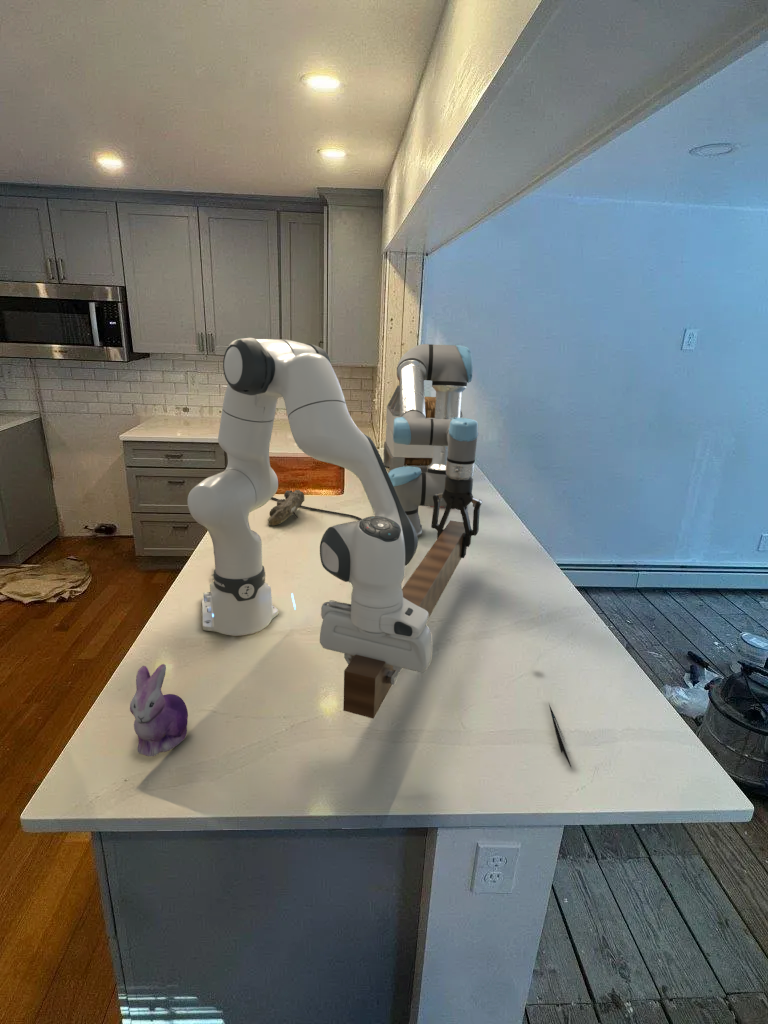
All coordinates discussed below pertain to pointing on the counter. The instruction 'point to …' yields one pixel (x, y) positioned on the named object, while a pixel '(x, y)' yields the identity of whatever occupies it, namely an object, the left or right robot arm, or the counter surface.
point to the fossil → (286, 507)
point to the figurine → (157, 714)
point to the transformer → (404, 453)
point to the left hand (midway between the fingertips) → (373, 677)
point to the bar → (421, 589)
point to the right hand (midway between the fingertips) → (452, 553)
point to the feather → (559, 735)
